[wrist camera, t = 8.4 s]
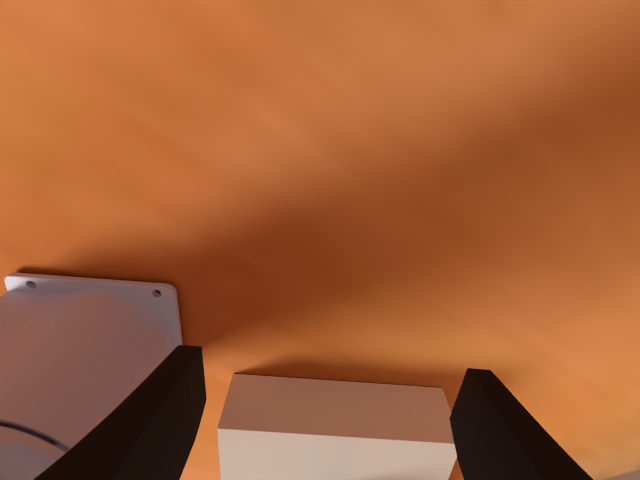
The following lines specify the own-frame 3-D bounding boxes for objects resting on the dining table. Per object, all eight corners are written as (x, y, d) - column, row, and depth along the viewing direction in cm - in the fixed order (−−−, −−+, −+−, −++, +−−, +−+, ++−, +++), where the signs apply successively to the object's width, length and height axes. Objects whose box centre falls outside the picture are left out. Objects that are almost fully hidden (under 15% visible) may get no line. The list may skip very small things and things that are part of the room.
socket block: (237, 495, 31) (226, 553, 27) (233, 373, 24) (217, 428, 21) (404, 505, 31) (414, 564, 27) (442, 387, 25) (462, 444, 21)
